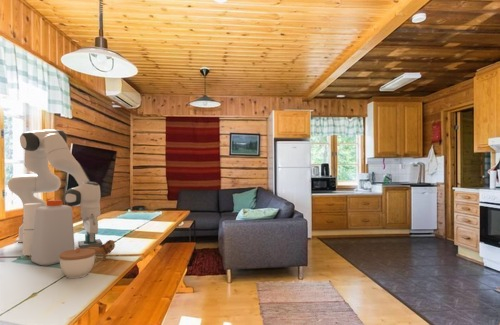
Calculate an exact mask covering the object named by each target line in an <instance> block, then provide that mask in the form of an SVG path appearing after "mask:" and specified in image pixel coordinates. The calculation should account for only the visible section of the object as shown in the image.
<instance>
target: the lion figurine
mask: <svg viewBox="0 0 500 325" xmlns="http://www.w3.org/2000/svg"><path fill="white" fill-rule="evenodd" d="M115 246H116V244H115V240H112V239H109V240H107V241H105V243H102V246H100V247H88V248H87V249H94V250H95V256H100V255H102V261H105V262H107V261H108V259H107V256H108V254H111V252H112V251H113V250H114V249H115V248H116V247H115Z"/></svg>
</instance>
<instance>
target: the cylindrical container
mask: <svg viewBox="0 0 500 325" xmlns="http://www.w3.org/2000/svg"><path fill="white" fill-rule="evenodd" d="M38 207H41V203H28V204H24V211H23V216H22V219H23V223H22V224H23V242H22V256H24V255H31V256H32V246H33V236H34V226H35V216H36V209H37V208H38Z"/></svg>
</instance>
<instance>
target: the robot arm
mask: <svg viewBox="0 0 500 325" xmlns="http://www.w3.org/2000/svg"><path fill="white" fill-rule="evenodd" d="M19 141H20V142H19V143H20V146H21V147H22V149H23V150H24V163H23V164H24V167H25V169H27V170H28V171H30V172H32V173H35V174H18V175H13V176H11V177H10V178H9V179H8V181H7V182H8V183H7V186H8V189H9V191H10V192H11V193H12V194H15V195H16V196H17V197H18V198H19V199H20V201H21V203H22V209H23V210H22V211H23V212H24V204H28V203H41V207H42V206H47V202H46V201H45V200H43V199H42V198H38V197H36V196H35V195H34V194H38V193H40V194H42V193H44V194H45V193H52V192H56V191H58V190H59V189H60V188H61V184H62V180H61V178H60V177H59V176H58V175H56V174H54V173H53V172H52V171H51V169H50V167H49V164H50V166H51V167H52V168H53V169H55V170H58V171H62V172H64V173H67V174H69V175H71V176H72V177H73V178H74V180H75V181H76V183H77V184H78V186H75V187H71V188H69V189H67V190H66V191H65V193H64V195H63V201H64V202H65V205H66V206H70V207H80V218H82V226H83V227H82V228H83V229H84V230H85V232H86V234H90V238H89V241H90V242H93V241H94V235H95V236H96V235H97V234H98V233H99V221H98V217H100V216H101V202H100V201H101V186H100V184H99V183H98V182H96V181H91V180H90V178H89V176H88V174H87V173H86V171H85V169H84V167H83V166H82V165H81V163H80V162H79V161H78V160H76V158H75V156H73V154H72V153H71V149H70V148H69V145H68V143H67V142H68V138H67V134H66V132H64V130H61V129H41V130H33V131H30V130H29V131H25V132H22V133H21V135H20V136H19ZM21 220H22V222H21V223H22V224H21V225H20V226H19V228H18V237H17V238H16V239H14V243H19V242H20V243H23V218H22V219H21Z"/></svg>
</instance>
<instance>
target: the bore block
mask: <svg viewBox="0 0 500 325" xmlns="http://www.w3.org/2000/svg"><path fill="white" fill-rule="evenodd" d="M77 243H78V244H77V246H78V247H80V249H84V248H88V247H100V246H102V245H103V242H102V240H101V239H100V238H97V239H96V238H95V243H89V244H85V240H81V241H80V240H79V241H78V242H77Z"/></svg>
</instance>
